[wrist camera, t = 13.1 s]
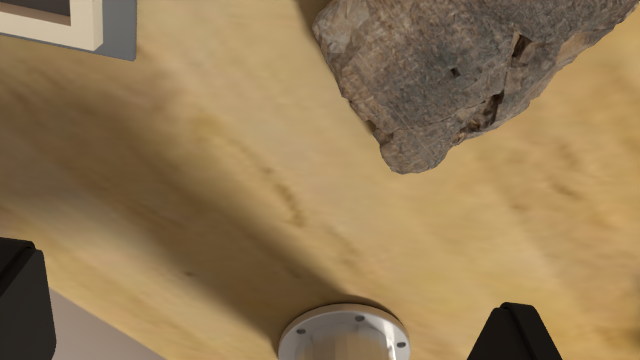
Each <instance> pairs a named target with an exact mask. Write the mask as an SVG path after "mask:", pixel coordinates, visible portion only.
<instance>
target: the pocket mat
mask: <svg viewBox="0 0 640 360" xmlns="http://www.w3.org/2000/svg"><path fill="white" fill-rule="evenodd" d="M136 26H137V0H0V35H5V36H10V37H15V38H20V39H24V40H29V41H34V42H39V43H44V44H49V45H54V46H59V47H64V48H69V49H74V50H79V51H84V52H89V53H94V54H99V55H104V56H108V57H113V58H118V59H123V60H128V61H134V60H135V59H136Z"/></svg>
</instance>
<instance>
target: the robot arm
mask: <svg viewBox="0 0 640 360" xmlns="http://www.w3.org/2000/svg"><path fill="white" fill-rule="evenodd" d="M55 348H56V334H55V328H54V321H53V314H52V308H51V301H50V295H49V288H48V281H47V275H46V268H45V261H44V255H43V252H42V251H41V250H37V249H36V248H35V245H34V243H33V242H32V241H26V240H18V239H10V238H3V237H0V360H51V359H52V357H53V355H54V352H55ZM410 352H411V347H410V342H409V337H408V334H407V332H406V329H405V328H404V327H403V325H402V324H401V323H400V322H399V321H398V320H397V319H396V318H394V317H393V316H392V315H390V314H388V313H386V312H384V311H383V310H380V309H377V308H374V307H371V306H366V305H360V304H333V305H328V306H323V307H319V308H316V309H314V310H311V311H308V312H306V313H304V314H303V315H301V316H299V317H298V318H296V319H295V320H294V321H293V322H291V323H290V324H289V325H288V326H287V328H286V329H285V330H284V332H283V333H282V336H281V338H280V340H279V348H278V359H279V360H409V358H410ZM467 360H562V358H561V356H560V354H559V352H558V350H557V348H556V346H555V344H554V343H553V341H552V339H551V337H550V335H549V333H548V331H547V329H546V327H545V325H544V323H543V322H542V320H541V318H540V316H539V314H538V312H537V310H536V309H535V308H534V307H533V306H531V305H526V304H518V303H510V302H504V303H503V304H501V306H500V307H499V308H494V309H493V311H492V312H491V314H490V316H489V318H488V320H487V322H486V324H485V326H484V328H483V329H482V331H481V333H480V335H479V337H478V339H477V341H476V343H475V345H474V347H473V349H472V351H471V353H470V354H469V356H468V358H467Z"/></svg>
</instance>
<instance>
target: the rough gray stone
mask: <svg viewBox="0 0 640 360" xmlns="http://www.w3.org/2000/svg"><path fill="white" fill-rule="evenodd" d="M639 1H640V0H332V1H331V2H329V3H328V4H327V6H326V7H325V8H324V9H323V10H322V11H320V12H319V13H318V15H317V16H316V18H315V20H314V22H313V25H312V31H313V33H314V35H315V37H316V39H317V40H318V42H319V43H320V47H321V50H322V53H323V55H324V57H325V59H326V62H327V63H328V65H329V67H330V68H331V70H332V72H333V74H334V76H335V79H336V82H337V84H338V87H339V90H340V93H341V95H342V97H344V98H346V99H348V100H349V102H350V106H351V108H352V109H353V110H354V111H355V113H356V114H357V115H358V116H359V117H360V118H361V119H362V120H363V121H367V120H371V121H372V122H373V123H374V124H375V126H376V129H375V131H374V134H373V135H374V137H375V138H376V140H377V141H378V143H379V144H380V152H381V155H382V158H383V159H384V161H385V162H386V164H387V165H388V166H389V167H390V169H391V170H392V171H393V172H396V173H399V174H408V173H421V172H424V171H427V170H430V169H433V168H435V167H436V166H437V165H438V164H439V163H440V162H441V161H442V160H443V159H444V158H445V156H446V154H447V152H448V150H449V149H450V148H452V147H453V146H456V145H459V144H460V143H461V142H463V141H464V140H467V139H471V138H474V137H477V136H480V135H483V134H484V133H485V132H488V131H491V130H494V129H496V128H498V127H499V126H501V125H502V124H503V123H505V122H506V121H508V120H510V119H511V118H513V117H515V116H517V115H518V114H520V113H521V112H523V111H524V110H526V109H527V107H528V106H529V104H530V101H531V100H532V99H534V98H536V97H538V96H540V94H541V93H542V92H543V90H544V89H545V87H546V86H547V85H548V83H549V82H550V81H551V79H552V78H553V76H554V75H555V73H556V72H557V71H559V70H561V69H562V68H563V67H564V66H566V65H568V64H570V63H572V62H573V61H574V59H575V58H576V57H577V56H578V54H579V53H581V52H582V51H584V50H585V49H587V48H589V47H591V46H593V45H595V44H596V43H597V42H598V41H599V40H600V39H601V38H602V37H603V36H605V35H606V34H608V33H609V32H611V31H612V30H613V29H614V27H615V25H616V24H619V23H621V22H623V21H624V20H625V19H626V18H627V17H628V16H629V15H630V14H631V13H632V12H633V11H634V10H635V9H636V7H637V6H638V4H639Z"/></svg>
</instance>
